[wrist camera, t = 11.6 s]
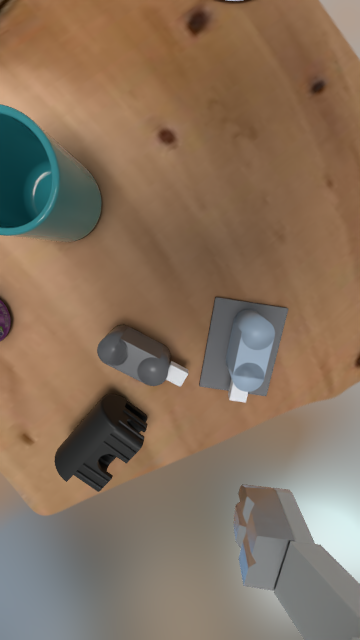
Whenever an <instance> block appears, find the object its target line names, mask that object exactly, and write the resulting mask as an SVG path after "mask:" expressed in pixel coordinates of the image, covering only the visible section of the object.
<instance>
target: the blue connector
mask: <svg viewBox="0 0 360 640" xmlns="http://www.w3.org/2000/svg"><path fill="white" fill-rule="evenodd" d="M274 337H275V330H274V327H273V325H272V324H271V323H270V322H269V321H268V320H266V319H265V318H264V317H262V316H261V315H260V314H258V313H257V312H256V311H254V310H251V309H246V310H242V311H241V312H239V313H238V314H237V315H236V316H235V318H234V322H233V327H232V331H231V336H230V341H229V346H228V351H227V356H226V365H227V367H228V370H229V373H230V375H231V383H230V388H229V392H228V397H229V400H232V401H239V402H246V399H247V395H248V392H251V391H254V390H256V389H258V388H259V387H260V386H261V385H262V383H263V381H264V377H265V373H266V369H267V365H268V361H269V357H270V353H271V349H272V345H273V341H274Z"/></svg>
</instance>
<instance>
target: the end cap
mask: <svg viewBox="0 0 360 640" xmlns="http://www.w3.org/2000/svg"><path fill="white" fill-rule="evenodd" d="M146 421H147V416H146V414H144V413H143V412H142V411H140V410H139V409H138V408H136V407H135V406H134V405H133V404H131V403H130V402H129V401H127V400H126V399H125V398H123V397H121V396H118V395H115V394H109V395H106V396H104V397H103V398H102V399H101V400H100V401H99V402H98V403H97V405H96V406H95V407H94V408H93V409H92V410H91V411H90V413H89V414H88V415H87V416H86V417H85V418H84V419H83V421H82V422H81V423H80V424H79V425H78V426H77V427H76V429H75V430H74V431H73V432H72V433H71V434H70V435H69V437H68V438H67V439H66V440H65V441H64V442H63V443H62V445H61V446H60V447H59V448H58V450H57V452H56V455H55V466H56V469H57V471H58V473H59V475H60V476H61V477H62V478H63V479H64V480H65V481H66V482H67V481H68V480H69V479H70V478H71V477H72V475H74V476H76V477H77V478H79V479H80V480H82V481H83V482H85V483H86V484H88V485H89V486H91V487H92V488H94V489H95V490H96V491H98V492H99V491H100V490H101V489H102V488H103V487H104V486H105V485H106V484H107V483H108V482H109V481H110V480H111V479H112V475H111V474H110V473H108V472H107V468H108V466H109V464H110V463H111V462H112V461H113V460H114V459H115V458H116V457H118V458H119V459H121V460H122V461H124V462H125V463H127V462H128V461H129V460H130V459H131V458H132V457H133V456H134V455H135V454H136V453H137V452H138V451H139V450H140V448H141V447H142V445H143V442H144V436H143V435H141V434H140V433H139V432H140V431H143V432H145V431H146V428H147V423H145V422H146Z"/></svg>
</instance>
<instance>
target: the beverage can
mask: <svg viewBox="0 0 360 640" xmlns="http://www.w3.org/2000/svg"><path fill="white" fill-rule="evenodd" d="M10 323H11V322H10V315H9V312H8V309H7V308H6V306H5V304H4V303H3V302H2V301H1V300H0V341H1V340H3V339H4V338H5V337H6V335H7V334H8V332H9V329H10Z"/></svg>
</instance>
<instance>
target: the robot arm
mask: <svg viewBox="0 0 360 640" xmlns="http://www.w3.org/2000/svg"><path fill="white" fill-rule="evenodd" d="M227 1H242V0H227ZM239 499H240V502H239V503H238V504H237V505H236V506H235V512H234V534H235V540H236V543H237V544H238V545H239V547H240V548H241V551H240V555H239V563H240V569H241V574H242V580H243V585H244V586H247V587H254V588H260V589H267V590H274V593H275V595H276V596H277V598H278V600H279V601H280V603H281V604H282V606H283V607H284V609H285V611H286V612H287V614H288V615H289V617H290V618H291V620H292V621H293V623H294V625H295V626H296V628H297V629H298V631H299V632H300V634H301V636H302V637H303V639H304V640H360V584H359V583H358V582H357V581H356V580H355V579H354V578H353V577H352V576H351V575H350V574H349V573H348V572H347V571H346V570H345V569H344V568H343V567H342V566H341V565H340V564H339V563H338V562H337V561H336V560H335V559H334V558H333V557H332V556H331V555H330V554H329V553H328V552H327V551H326V550H325V549H324V548H323V547H322V546H321V545H318V544H315V543H314V540H313V538H312V536H311V534H310V532H309V529H308V527H307V525H306V523H305V520H304V518H303V516H302V514H301V512H300V509H299V507H298V505H297V503H296V500H295V498H294V496H293V494H292V492H291V491H290V490H288V489H279V488H270V487H261V486H253V485H244V484H242V485H241V487H240V490H239Z"/></svg>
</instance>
